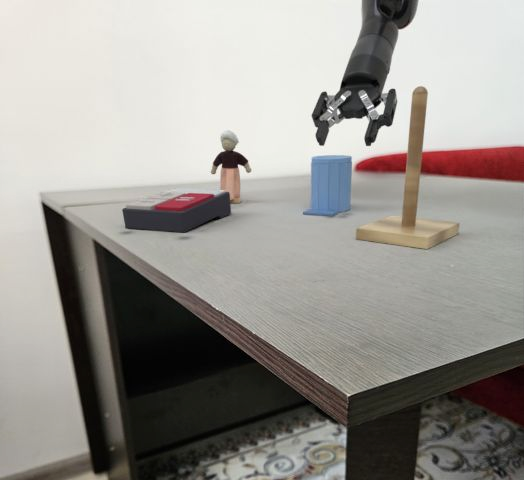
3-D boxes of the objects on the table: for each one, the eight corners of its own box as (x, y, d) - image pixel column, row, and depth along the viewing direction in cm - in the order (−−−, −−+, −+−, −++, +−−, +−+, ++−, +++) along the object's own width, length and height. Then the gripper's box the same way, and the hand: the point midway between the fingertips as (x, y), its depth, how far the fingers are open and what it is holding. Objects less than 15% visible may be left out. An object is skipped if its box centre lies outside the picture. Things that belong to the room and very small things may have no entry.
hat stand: (390, 225, 76) (400, 88, 69) (458, 234, 70) (477, 84, 63) (355, 239, 69) (362, 88, 62) (427, 249, 63) (444, 83, 56)
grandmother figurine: (211, 204, 98) (206, 131, 92) (213, 201, 101) (208, 130, 96) (252, 203, 98) (249, 130, 92) (252, 200, 101) (250, 129, 96)
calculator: (119, 203, 79) (174, 185, 91) (124, 232, 81) (177, 210, 93) (181, 207, 74) (230, 186, 86) (185, 237, 76) (232, 213, 88)
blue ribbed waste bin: (319, 205, 94) (320, 154, 90) (354, 207, 91) (357, 155, 88) (298, 214, 87) (298, 159, 83) (336, 216, 84) (338, 160, 80)
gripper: (325, 55, 94) (299, 127, 90) (404, 49, 88) (380, 126, 84) (334, 88, 101) (310, 157, 96) (409, 85, 94) (387, 158, 90)
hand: (343, 142), depth 90 cm, fingers open, 8 cm apart
